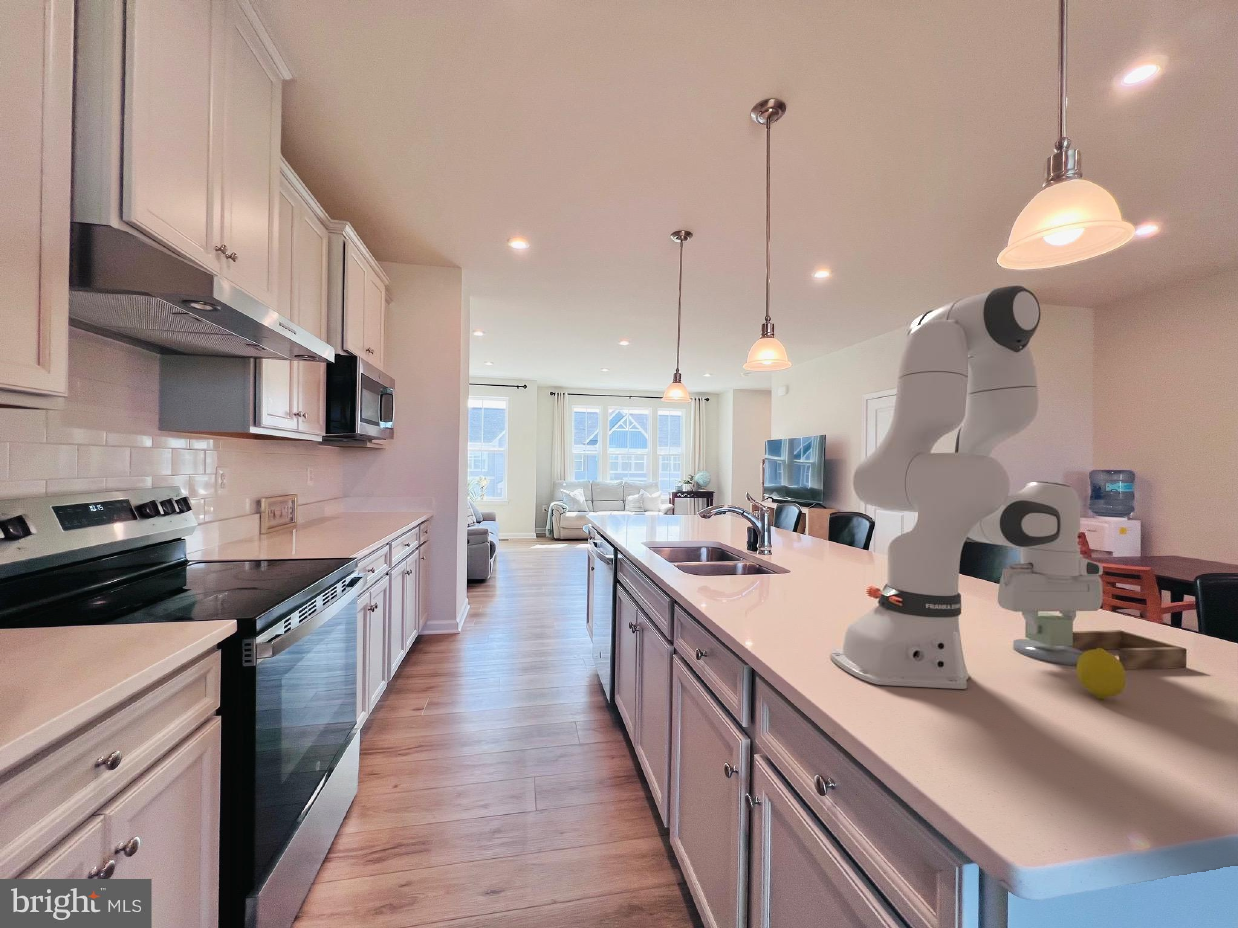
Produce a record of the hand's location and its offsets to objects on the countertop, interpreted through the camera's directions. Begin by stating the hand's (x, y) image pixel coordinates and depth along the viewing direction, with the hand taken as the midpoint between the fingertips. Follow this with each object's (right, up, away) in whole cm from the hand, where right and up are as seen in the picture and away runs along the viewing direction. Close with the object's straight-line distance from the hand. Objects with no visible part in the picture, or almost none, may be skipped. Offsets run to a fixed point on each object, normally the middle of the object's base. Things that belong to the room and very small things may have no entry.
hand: (1048, 632), depth 97 cm
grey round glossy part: (0, -4, 0) cm, 4 cm away
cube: (0, -2, 0) cm, 2 cm away
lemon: (-9, -4, -19) cm, 22 cm away
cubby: (+13, -5, -1) cm, 14 cm away
